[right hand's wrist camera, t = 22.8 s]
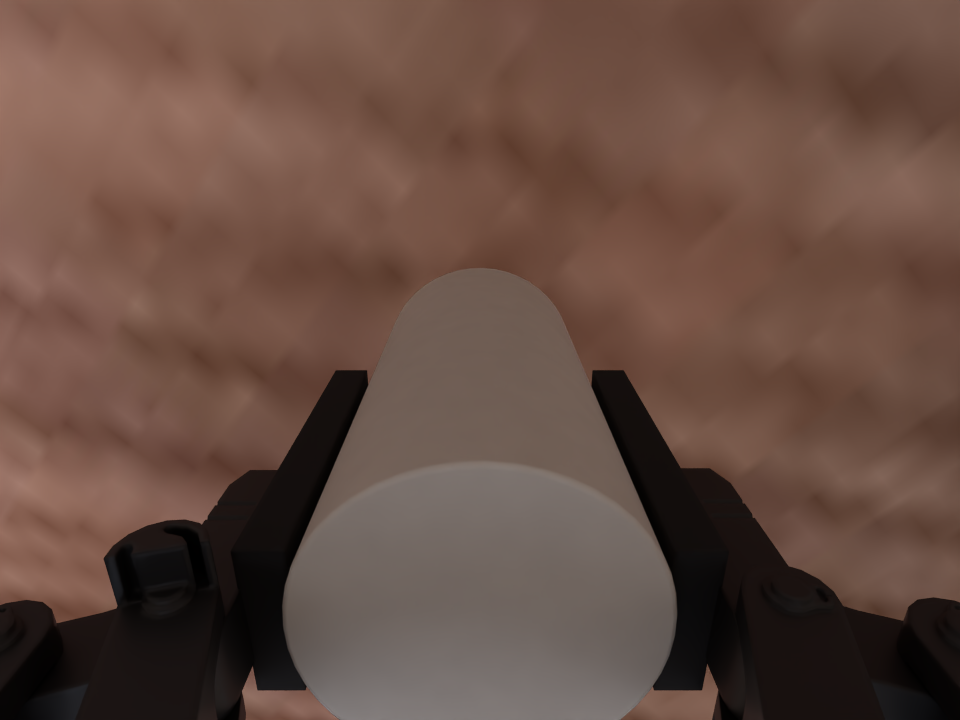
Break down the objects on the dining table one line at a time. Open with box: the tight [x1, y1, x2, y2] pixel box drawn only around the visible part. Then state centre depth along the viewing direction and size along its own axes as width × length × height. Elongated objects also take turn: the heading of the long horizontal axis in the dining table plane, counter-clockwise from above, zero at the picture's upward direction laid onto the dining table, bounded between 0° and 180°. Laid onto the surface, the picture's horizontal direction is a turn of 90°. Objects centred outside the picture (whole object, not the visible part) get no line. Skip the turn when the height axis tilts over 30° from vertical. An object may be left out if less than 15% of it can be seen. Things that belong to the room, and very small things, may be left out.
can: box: [282, 268, 677, 720], centre depth 13 cm, size 6×6×11 cm
